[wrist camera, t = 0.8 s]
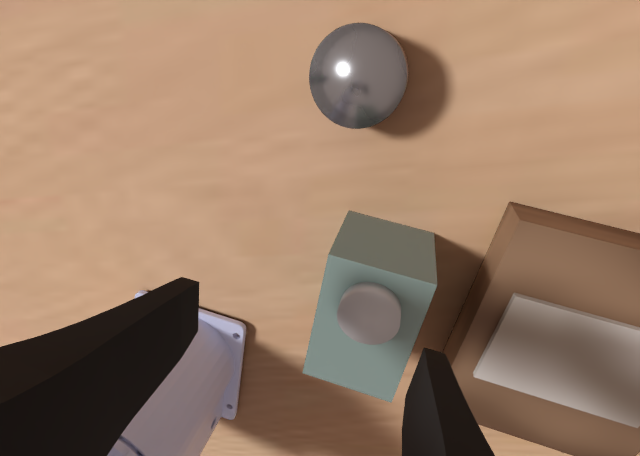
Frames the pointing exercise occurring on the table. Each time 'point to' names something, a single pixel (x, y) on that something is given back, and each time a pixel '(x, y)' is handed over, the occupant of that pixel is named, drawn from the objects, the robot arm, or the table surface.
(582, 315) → the stand
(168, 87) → the table surface
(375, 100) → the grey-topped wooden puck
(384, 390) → the block
